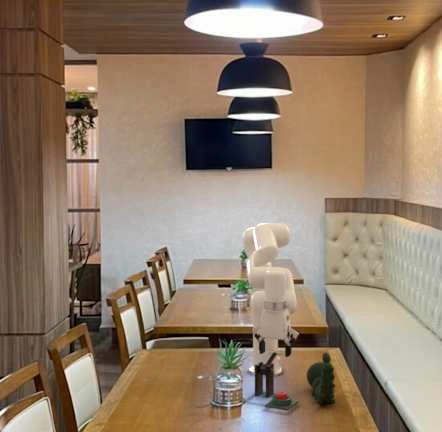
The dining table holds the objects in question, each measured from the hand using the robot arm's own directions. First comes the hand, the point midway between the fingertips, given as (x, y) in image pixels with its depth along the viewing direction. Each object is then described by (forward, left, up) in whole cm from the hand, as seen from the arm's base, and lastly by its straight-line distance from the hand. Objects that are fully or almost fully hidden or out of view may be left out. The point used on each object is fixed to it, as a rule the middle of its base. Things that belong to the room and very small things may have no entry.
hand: (275, 354), depth 231 cm
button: (+15, +9, -10) cm, 20 cm away
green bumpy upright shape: (+1, +18, -13) cm, 22 cm away
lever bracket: (+9, 0, -13) cm, 16 cm away
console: (+15, +9, -13) cm, 22 cm away
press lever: (+4, 0, -2) cm, 5 cm away
